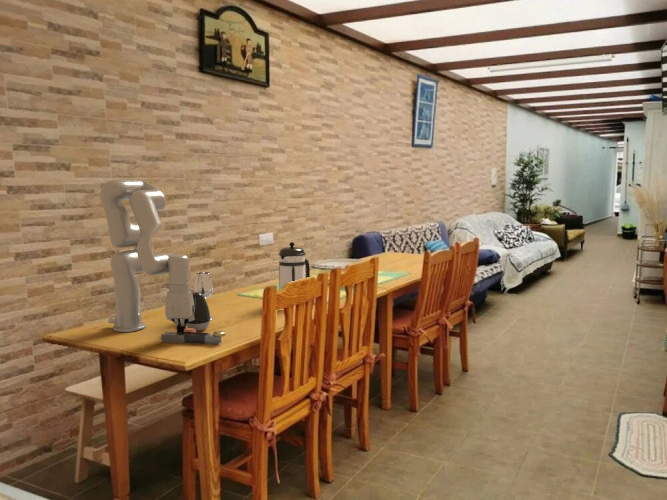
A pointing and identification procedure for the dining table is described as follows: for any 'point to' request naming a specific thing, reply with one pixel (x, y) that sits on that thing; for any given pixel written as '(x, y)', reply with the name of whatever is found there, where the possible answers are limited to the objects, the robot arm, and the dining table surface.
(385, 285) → the dining table surface
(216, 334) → the tongs fixed arm
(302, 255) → the coffee press
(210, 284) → the wineglass
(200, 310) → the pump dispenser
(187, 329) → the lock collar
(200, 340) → the tongs moving arm
